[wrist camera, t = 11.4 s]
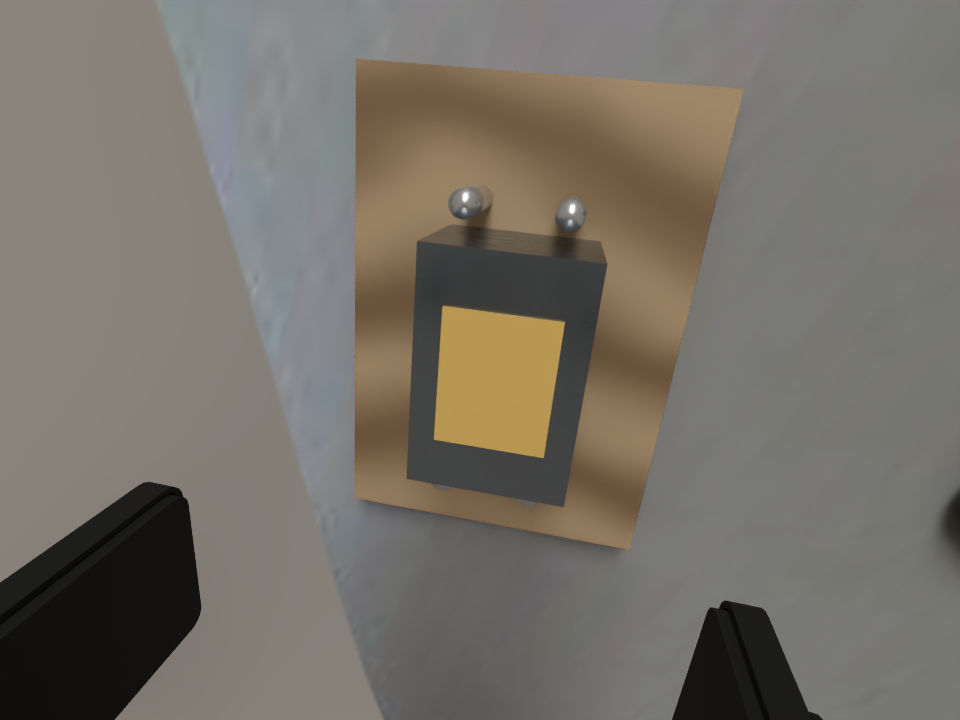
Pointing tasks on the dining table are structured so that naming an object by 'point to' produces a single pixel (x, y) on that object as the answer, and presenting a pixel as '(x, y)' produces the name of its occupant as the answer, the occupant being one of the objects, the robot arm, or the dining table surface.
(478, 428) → the block
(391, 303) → the tray
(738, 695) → the robot arm
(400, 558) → the dining table surface
